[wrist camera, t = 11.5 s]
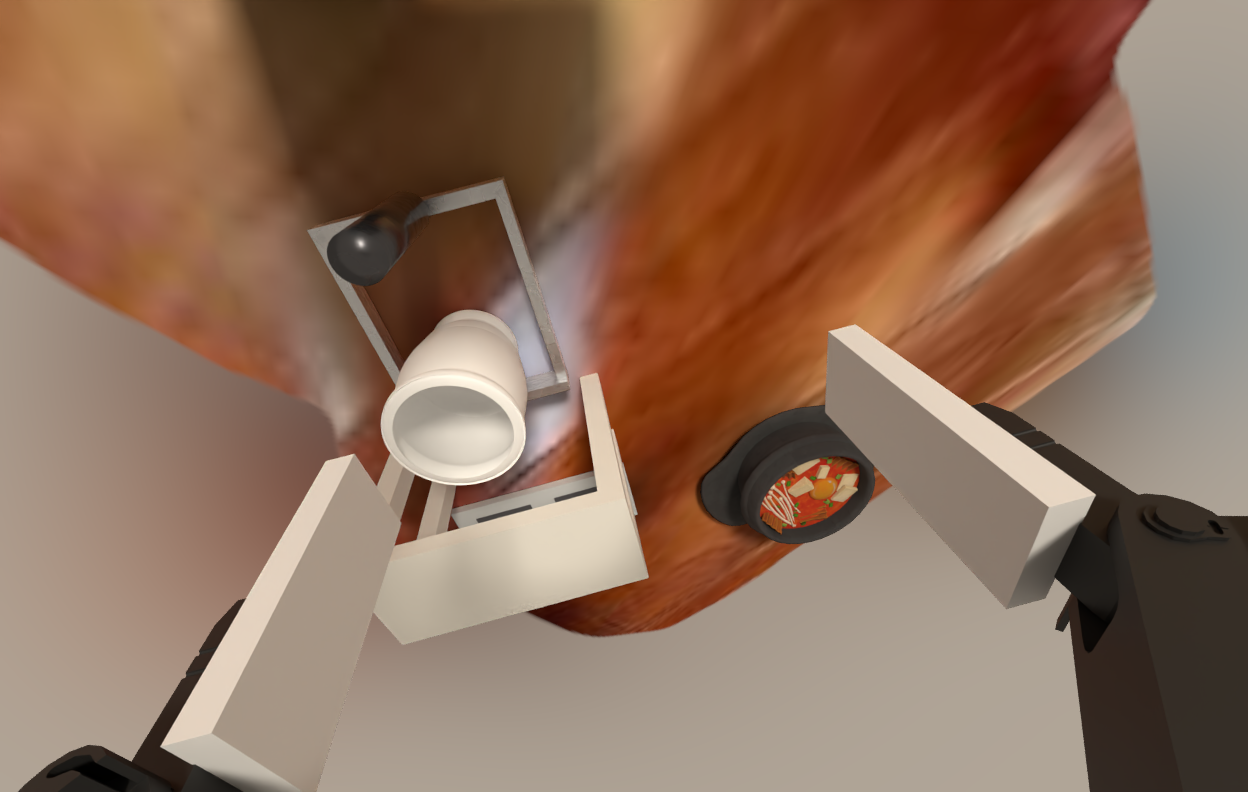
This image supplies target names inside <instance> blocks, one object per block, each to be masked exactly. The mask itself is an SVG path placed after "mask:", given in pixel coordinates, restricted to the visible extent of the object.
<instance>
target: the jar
mask: <svg viewBox="0 0 1248 792" xmlns="http://www.w3.org/2000/svg"><path fill="white" fill-rule="evenodd" d="M526 406H527V383H526V378H525V373H524V370H523V367H522V363H521V360H520V357H519V354H518V344H517V341H516V338H515V336H514V334H513V332H512V331H511V329H510V328H509V327H508V326H507V325H506V324H505V323H504V322H503V321H502V320H500V319H499V318H497V317H496V316H494V315H492V314H489V313H487V312H483V311H479V310H461V311H457V312H454V313H451V314H449V315H448V316H446V317H445V318H443V319H442V320H441V321H440V322H439V323H438V324H437V326H436V327H435V329H434V331H433V332H431V333H430V334H429V335H428V336H427V337H426V338H425V339H424V340H423V341H422V342H421V343H420V344H419V345H418V346H417V347H416V348H415V349H414V350H413V352H412V353H411V354H410V355H409V357H408V358H407V360H406V362H405V363H404V365H403V367H402V369H401V371H400V374H399V377H398V380H397V383H396V387H395V390H394V391H393V392H392V393H391V395H390V396H389V398H388V399H387V401H386V403H385V406H384V409H383V412H382V417H381V433H382V437H383V440H384V442H385V445H386V447H387V448H388V450H389V452H390V453H391V454H392V456H393V457H394V458H395V459H396V460H397V461H398V462H399V463H400V464H401V465H402V466H404V467H405V468H406V469H408V470H409V471H411V472H412V473H414V474H416V475H418V476H420V477H422V478H425V479H427V480H430V481H434V482H437V483H442V484H449V485H471V484H477V483H482V482H485V481H488V480H491V479H494V478H496V477H498V476H500V475H501V474H503V473H504V472H506V471H507V470H508V469H510V468H511V467H512V466H513V465H514V464H515V463H516V461H517V460H518V459H519V457H520V455H521V453H522V451H523V449H524V445H525V440H526V426H525V420H524V416H525V412H526Z"/></svg>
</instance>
